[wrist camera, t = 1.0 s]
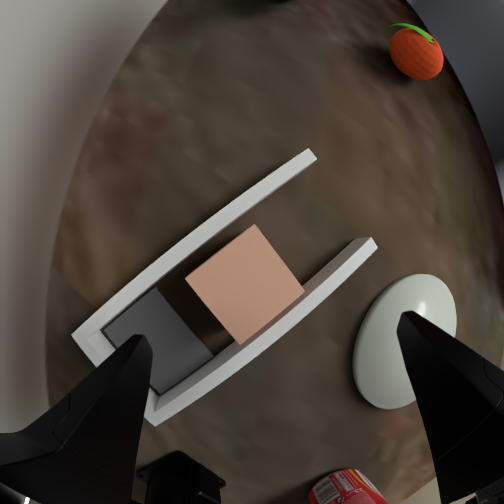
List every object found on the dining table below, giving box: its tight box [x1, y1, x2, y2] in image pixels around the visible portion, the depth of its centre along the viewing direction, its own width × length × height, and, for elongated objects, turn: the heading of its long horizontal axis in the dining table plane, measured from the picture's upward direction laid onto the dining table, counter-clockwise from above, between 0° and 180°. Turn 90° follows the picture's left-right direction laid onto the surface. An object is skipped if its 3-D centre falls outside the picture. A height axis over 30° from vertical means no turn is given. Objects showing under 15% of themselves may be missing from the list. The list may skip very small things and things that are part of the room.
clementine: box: [389, 23, 443, 80], centre depth 20 cm, size 8×7×7 cm
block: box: [185, 224, 305, 345], centre depth 18 cm, size 5×5×4 cm
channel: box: [71, 148, 378, 426], centre depth 18 cm, size 22×9×2 cm, turn 128°
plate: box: [352, 274, 456, 409], centre depth 22 cm, size 14×14×1 cm
